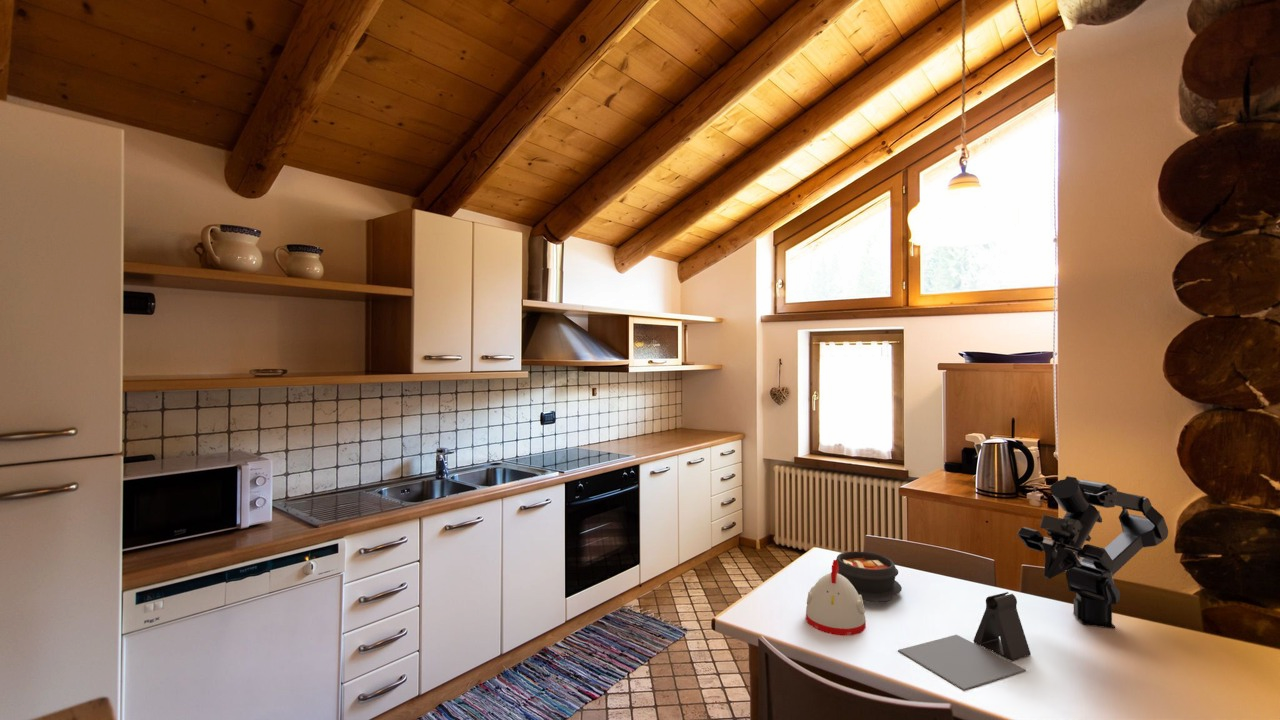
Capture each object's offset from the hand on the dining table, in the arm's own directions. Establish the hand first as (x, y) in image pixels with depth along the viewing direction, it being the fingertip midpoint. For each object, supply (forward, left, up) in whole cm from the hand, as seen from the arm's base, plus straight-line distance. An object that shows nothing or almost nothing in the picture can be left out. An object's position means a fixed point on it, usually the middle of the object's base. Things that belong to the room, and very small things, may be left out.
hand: (1046, 577), depth 132 cm
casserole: (+39, -15, -14) cm, 44 cm away
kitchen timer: (+47, +8, -14) cm, 49 cm away
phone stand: (+12, +10, -14) cm, 21 cm away
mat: (+22, +19, -14) cm, 32 cm away
